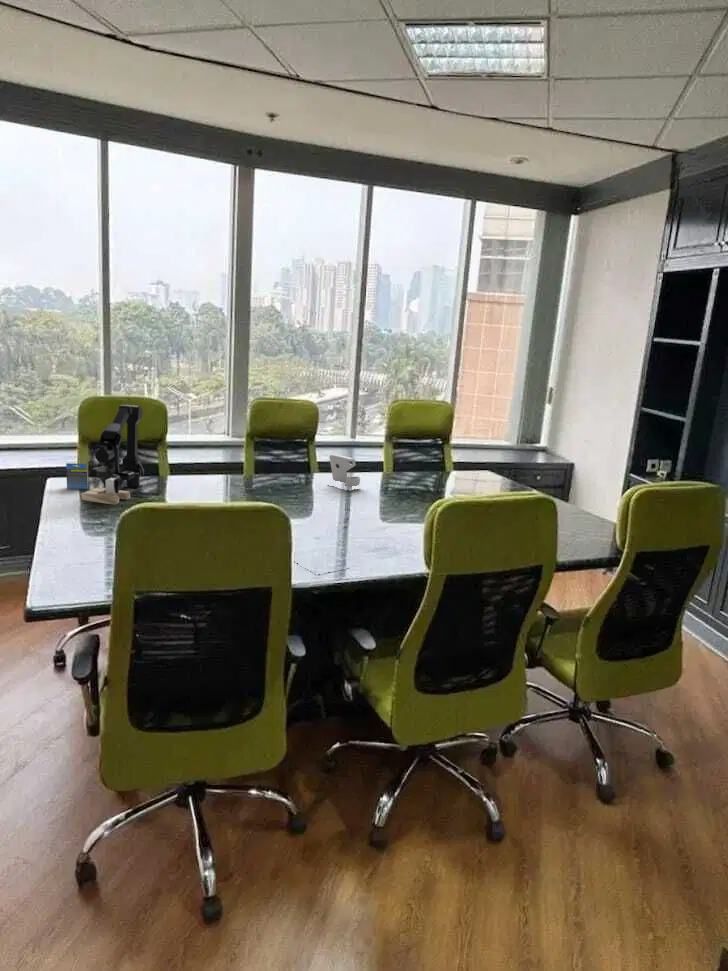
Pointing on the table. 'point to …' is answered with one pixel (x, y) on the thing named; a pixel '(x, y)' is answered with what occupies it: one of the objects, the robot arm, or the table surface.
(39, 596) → the table surface
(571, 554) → the table surface
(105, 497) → the notched board
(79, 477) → the label tape cartridge
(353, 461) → the phone holder
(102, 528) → the table surface
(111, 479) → the grey peg
